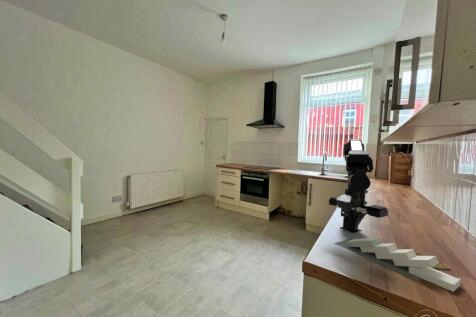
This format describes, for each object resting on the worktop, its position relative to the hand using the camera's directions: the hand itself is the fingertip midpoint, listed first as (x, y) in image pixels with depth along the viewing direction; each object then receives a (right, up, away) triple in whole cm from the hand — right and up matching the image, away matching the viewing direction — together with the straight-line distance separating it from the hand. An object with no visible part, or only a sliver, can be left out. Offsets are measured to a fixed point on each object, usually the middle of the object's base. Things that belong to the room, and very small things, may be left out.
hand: (354, 229), depth 74 cm
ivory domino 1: (+2, -5, -3) cm, 7 cm away
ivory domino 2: (+4, -6, -8) cm, 10 cm away
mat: (+4, -7, -7) cm, 10 cm away
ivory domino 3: (+6, -6, -12) cm, 15 cm away
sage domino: (-1, -5, 0) cm, 5 cm away
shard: (+16, -8, -9) cm, 20 cm away
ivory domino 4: (+8, -6, -15) cm, 18 cm away
